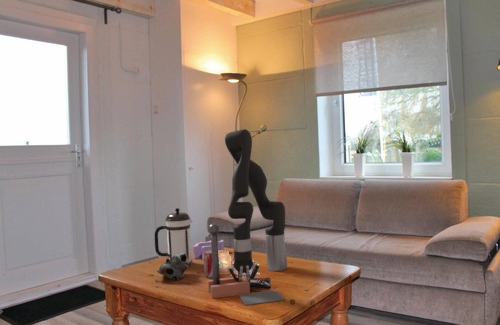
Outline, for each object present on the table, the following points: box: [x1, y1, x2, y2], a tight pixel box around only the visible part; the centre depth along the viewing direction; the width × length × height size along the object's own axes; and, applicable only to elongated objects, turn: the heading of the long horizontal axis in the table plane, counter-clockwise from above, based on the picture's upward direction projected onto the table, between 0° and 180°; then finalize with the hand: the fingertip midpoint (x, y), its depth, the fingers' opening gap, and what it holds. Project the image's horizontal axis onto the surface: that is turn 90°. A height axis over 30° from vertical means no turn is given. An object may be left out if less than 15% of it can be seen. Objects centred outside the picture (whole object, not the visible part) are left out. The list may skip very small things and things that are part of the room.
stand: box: [208, 223, 221, 285], centre depth 181 cm, size 4×4×29 cm
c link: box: [207, 275, 251, 299], centre depth 183 cm, size 16×10×4 cm, turn 104°
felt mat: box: [238, 289, 286, 307], centre depth 174 cm, size 16×12×1 cm
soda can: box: [203, 250, 213, 279], centre depth 206 cm, size 7×7×12 cm
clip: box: [192, 239, 225, 261], centre depth 248 cm, size 20×12×7 cm, turn 146°
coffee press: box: [154, 207, 194, 267], centre depth 230 cm, size 17×16×30 cm
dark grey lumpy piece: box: [156, 253, 190, 281], centre depth 208 cm, size 15×12×14 cm
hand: (244, 289), depth 185 cm, fingers closed on c link, 2 cm apart
